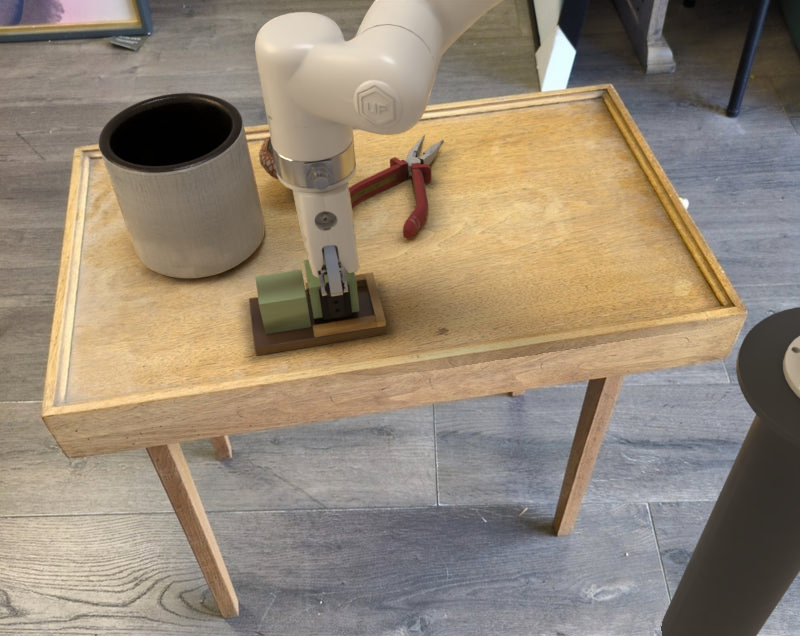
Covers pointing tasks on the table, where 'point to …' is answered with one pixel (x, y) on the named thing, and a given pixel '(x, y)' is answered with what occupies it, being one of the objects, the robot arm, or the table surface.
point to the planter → (184, 183)
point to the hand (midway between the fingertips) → (334, 298)
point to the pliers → (399, 174)
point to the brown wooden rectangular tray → (308, 314)
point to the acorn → (268, 158)
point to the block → (315, 283)
